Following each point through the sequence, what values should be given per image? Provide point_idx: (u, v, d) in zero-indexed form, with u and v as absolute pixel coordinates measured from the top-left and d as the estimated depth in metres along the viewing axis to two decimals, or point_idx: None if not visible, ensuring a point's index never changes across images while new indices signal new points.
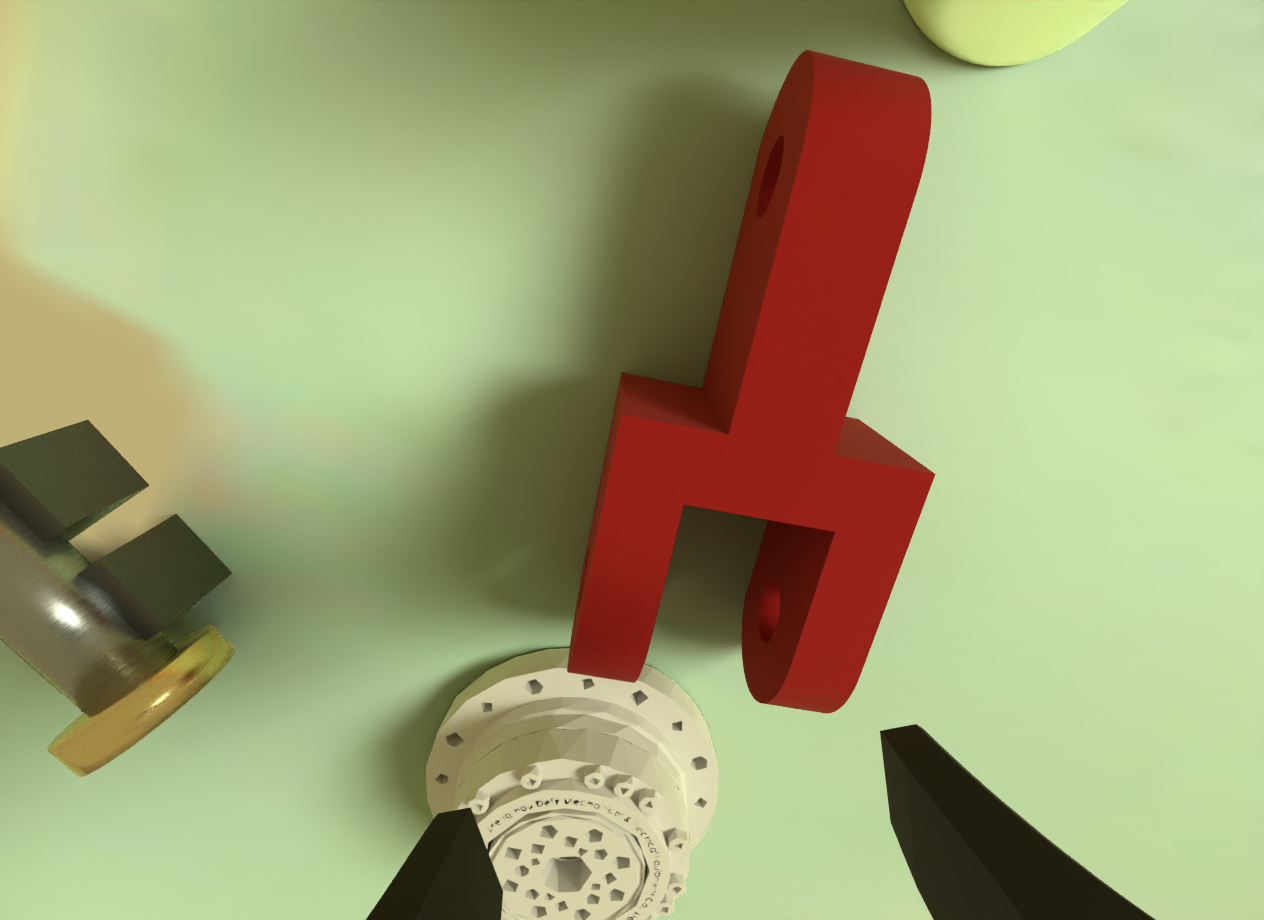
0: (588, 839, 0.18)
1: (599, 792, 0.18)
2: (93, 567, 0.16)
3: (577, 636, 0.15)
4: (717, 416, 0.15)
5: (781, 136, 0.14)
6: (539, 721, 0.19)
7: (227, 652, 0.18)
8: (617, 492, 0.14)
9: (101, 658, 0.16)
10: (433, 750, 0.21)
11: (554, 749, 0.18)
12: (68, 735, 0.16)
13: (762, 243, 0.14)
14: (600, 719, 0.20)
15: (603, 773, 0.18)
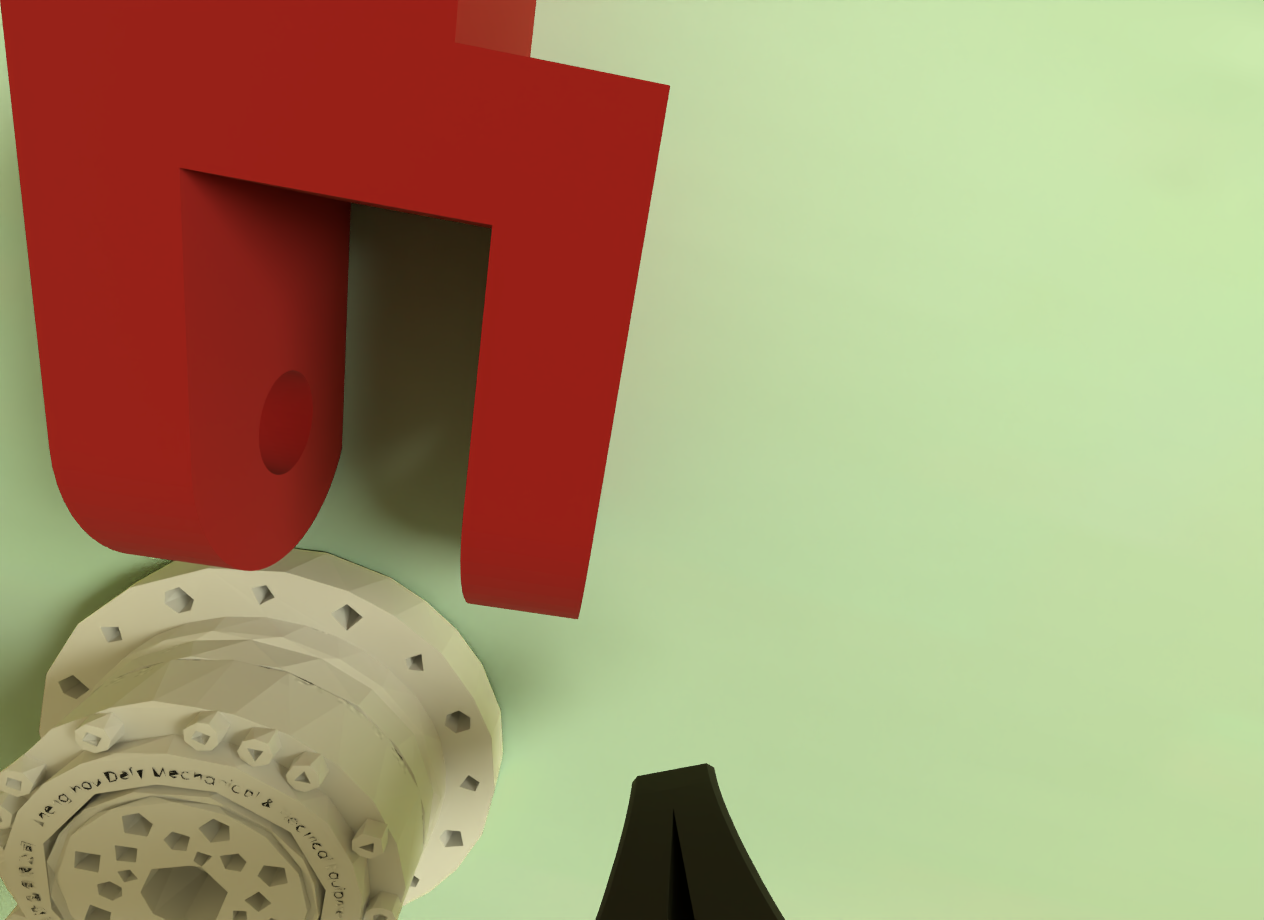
0: (210, 837, 0.11)
1: (215, 757, 0.11)
2: None
3: (55, 461, 0.08)
4: None
5: None
6: (170, 650, 0.12)
7: None
8: (39, 140, 0.07)
9: None
10: (45, 704, 0.14)
11: (153, 687, 0.11)
12: None
13: None
14: (270, 647, 0.12)
15: (220, 725, 0.11)
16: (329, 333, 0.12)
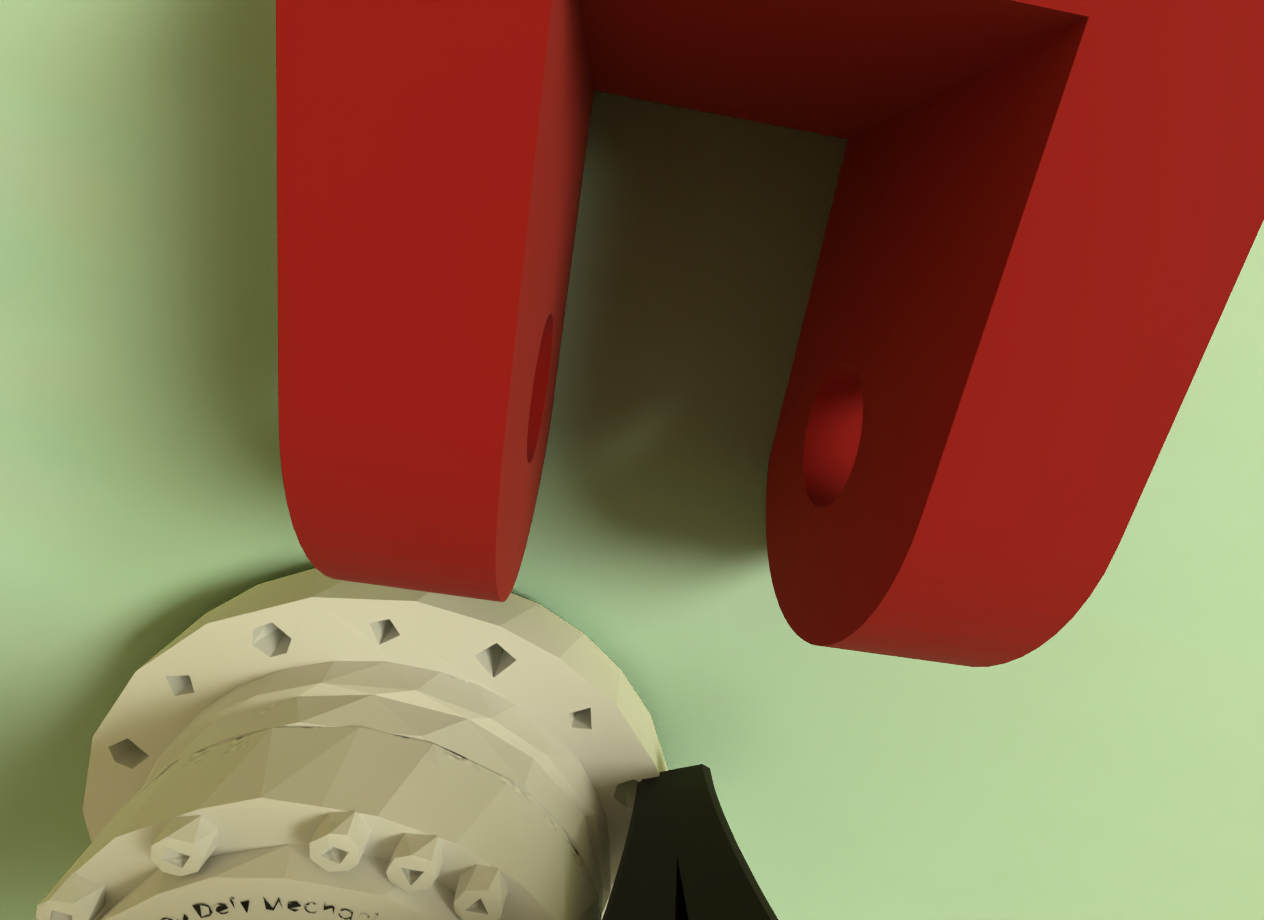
0: None
1: (352, 880, 0.07)
2: None
3: (284, 440, 0.05)
4: None
5: None
6: (266, 711, 0.09)
7: None
8: None
9: None
10: (90, 775, 0.10)
11: (257, 774, 0.08)
12: None
13: None
14: (401, 705, 0.09)
15: (360, 833, 0.07)
16: (566, 270, 0.09)
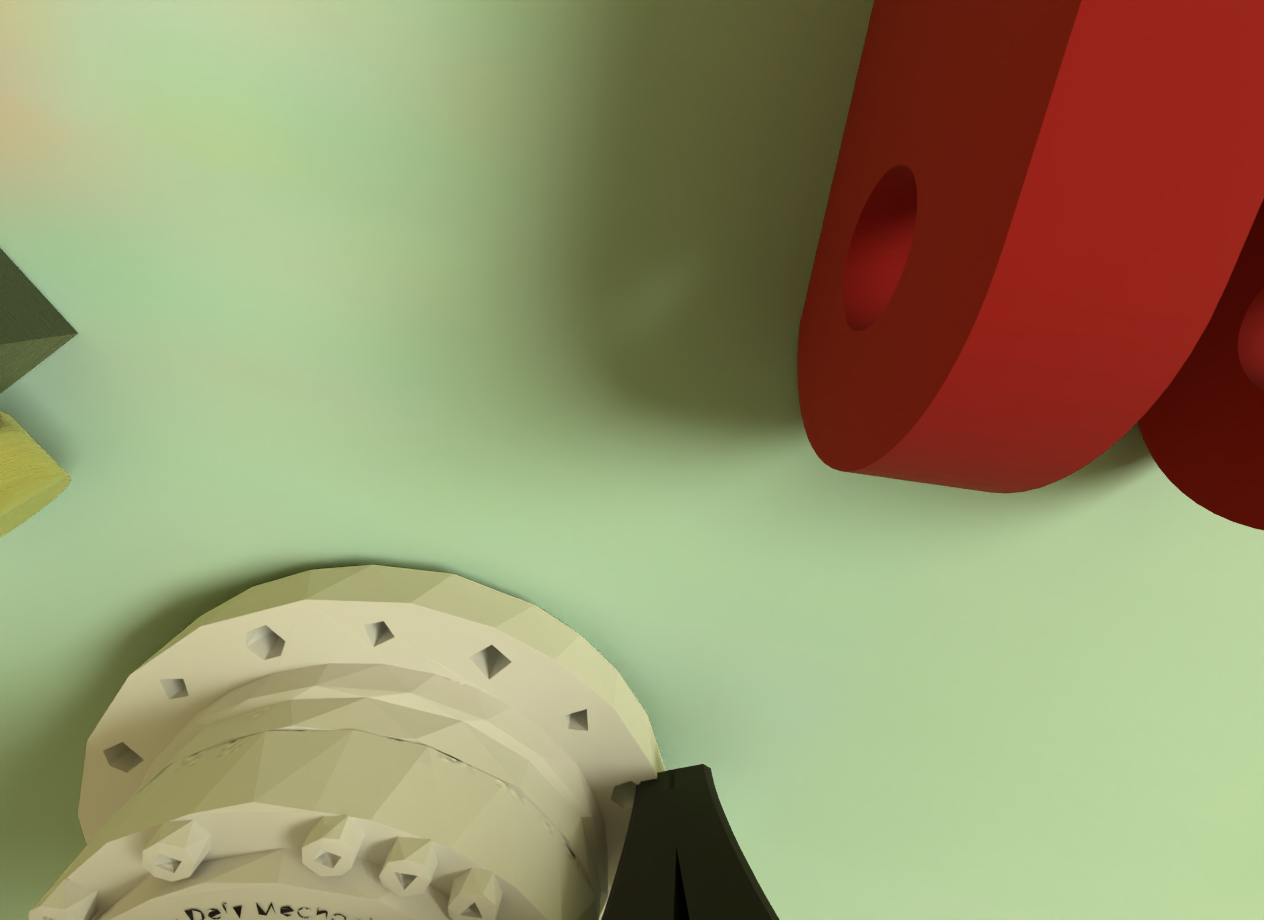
0: None
1: (346, 884, 0.07)
2: None
3: (993, 276, 0.05)
4: None
5: None
6: (260, 714, 0.09)
7: (33, 466, 0.08)
8: None
9: None
10: (86, 779, 0.10)
11: (249, 779, 0.08)
12: None
13: None
14: (396, 708, 0.09)
15: (353, 837, 0.07)
16: None
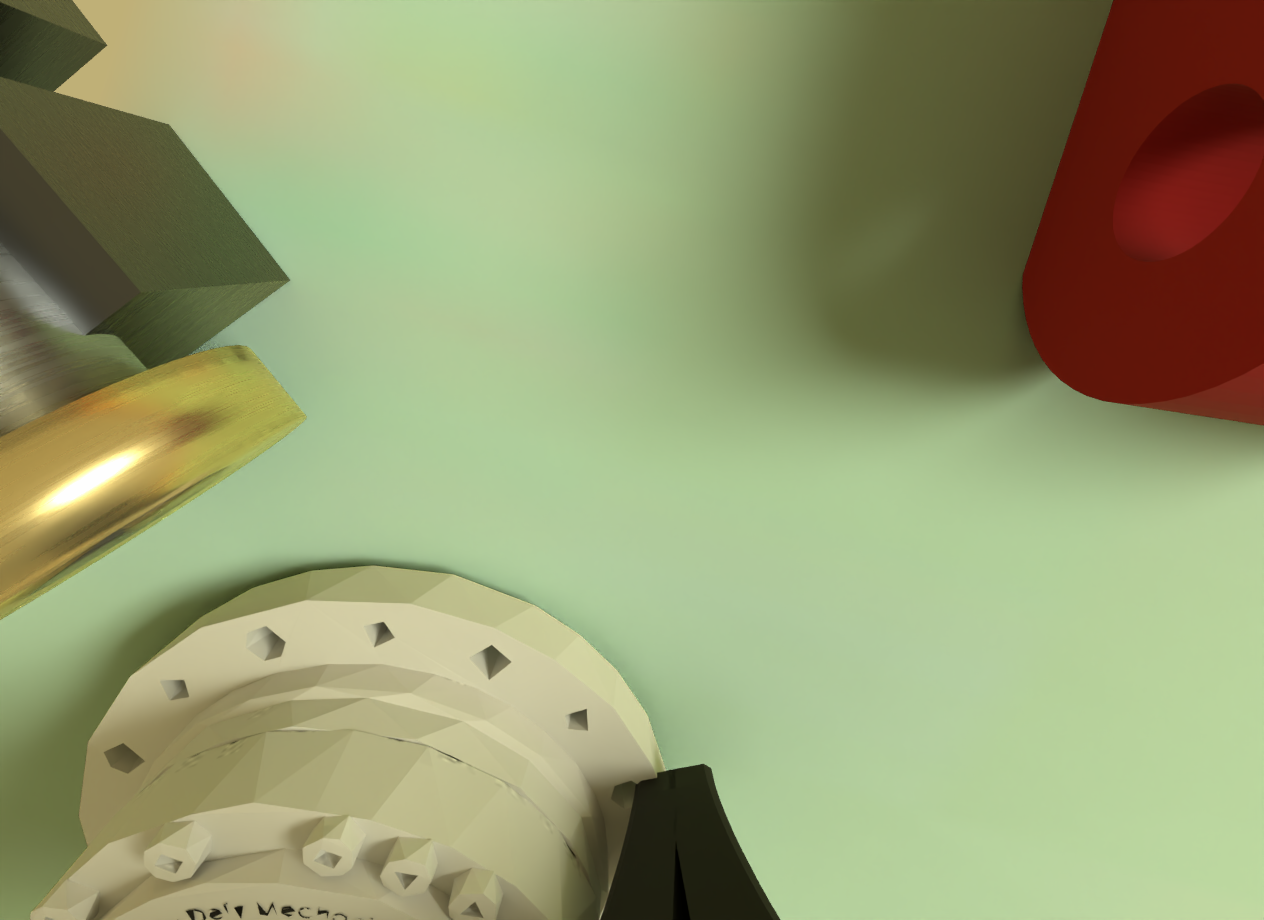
0: None
1: (347, 884, 0.07)
2: None
3: None
4: None
5: None
6: (261, 715, 0.09)
7: (292, 404, 0.07)
8: None
9: None
10: (87, 780, 0.10)
11: (250, 780, 0.08)
12: None
13: None
14: (396, 708, 0.09)
15: (354, 837, 0.07)
16: None
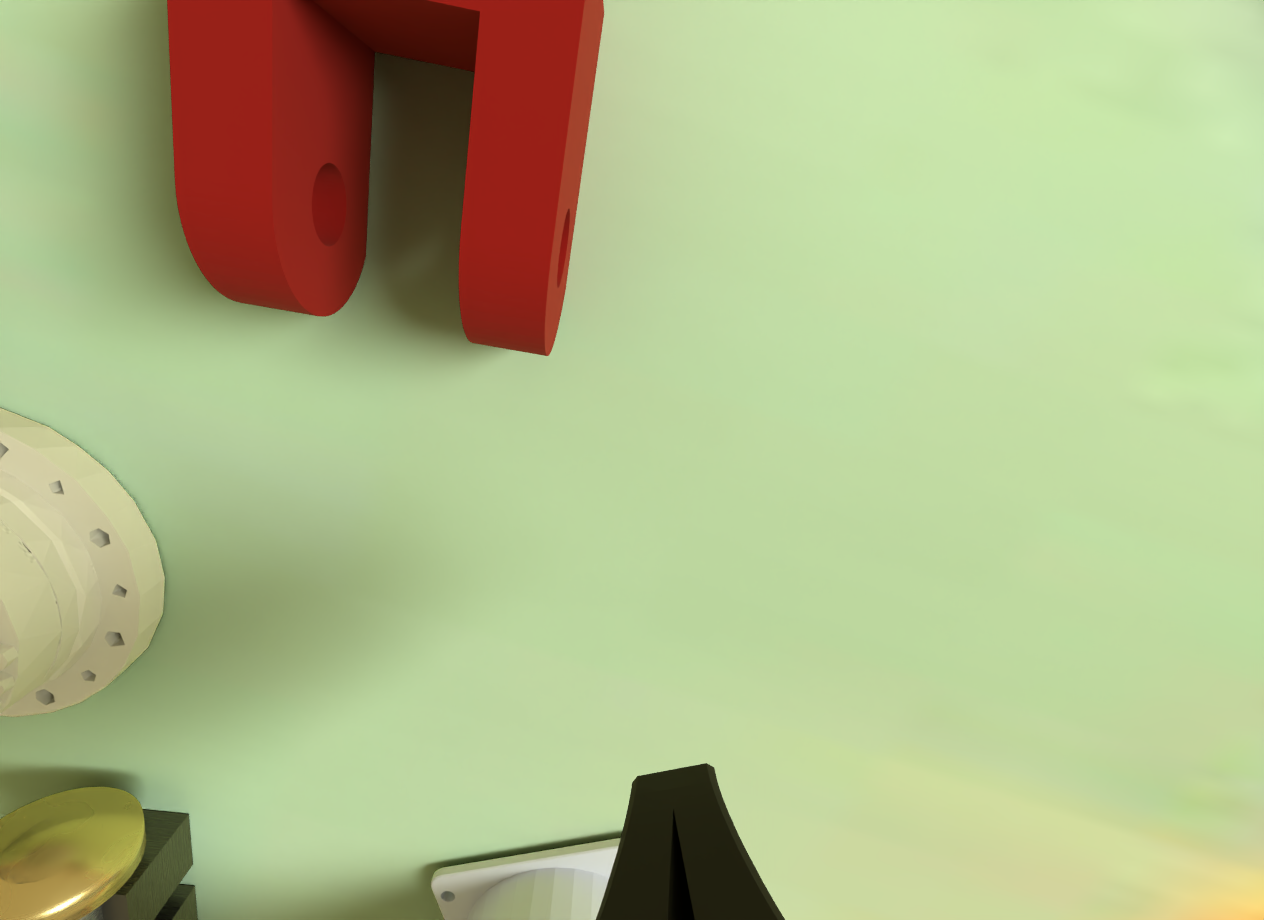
0: None
1: None
2: None
3: (177, 189, 0.12)
4: None
5: None
6: None
7: None
8: None
9: None
10: None
11: None
12: None
13: None
14: None
15: None
16: (358, 151, 0.15)
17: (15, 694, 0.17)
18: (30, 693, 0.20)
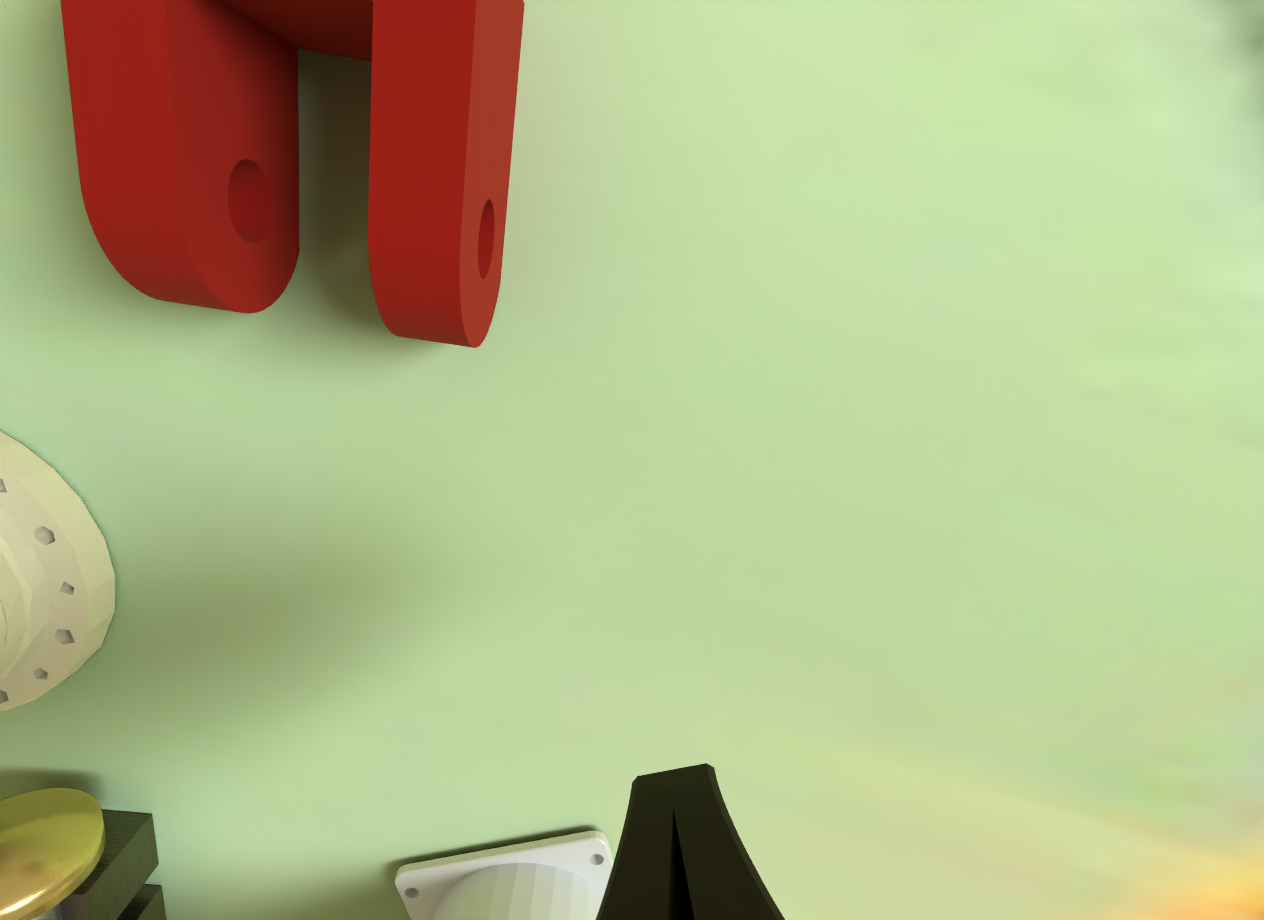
0: None
1: None
2: None
3: (83, 187, 0.12)
4: None
5: None
6: None
7: None
8: None
9: None
10: None
11: None
12: None
13: None
14: None
15: None
16: (283, 147, 0.15)
17: None
18: None
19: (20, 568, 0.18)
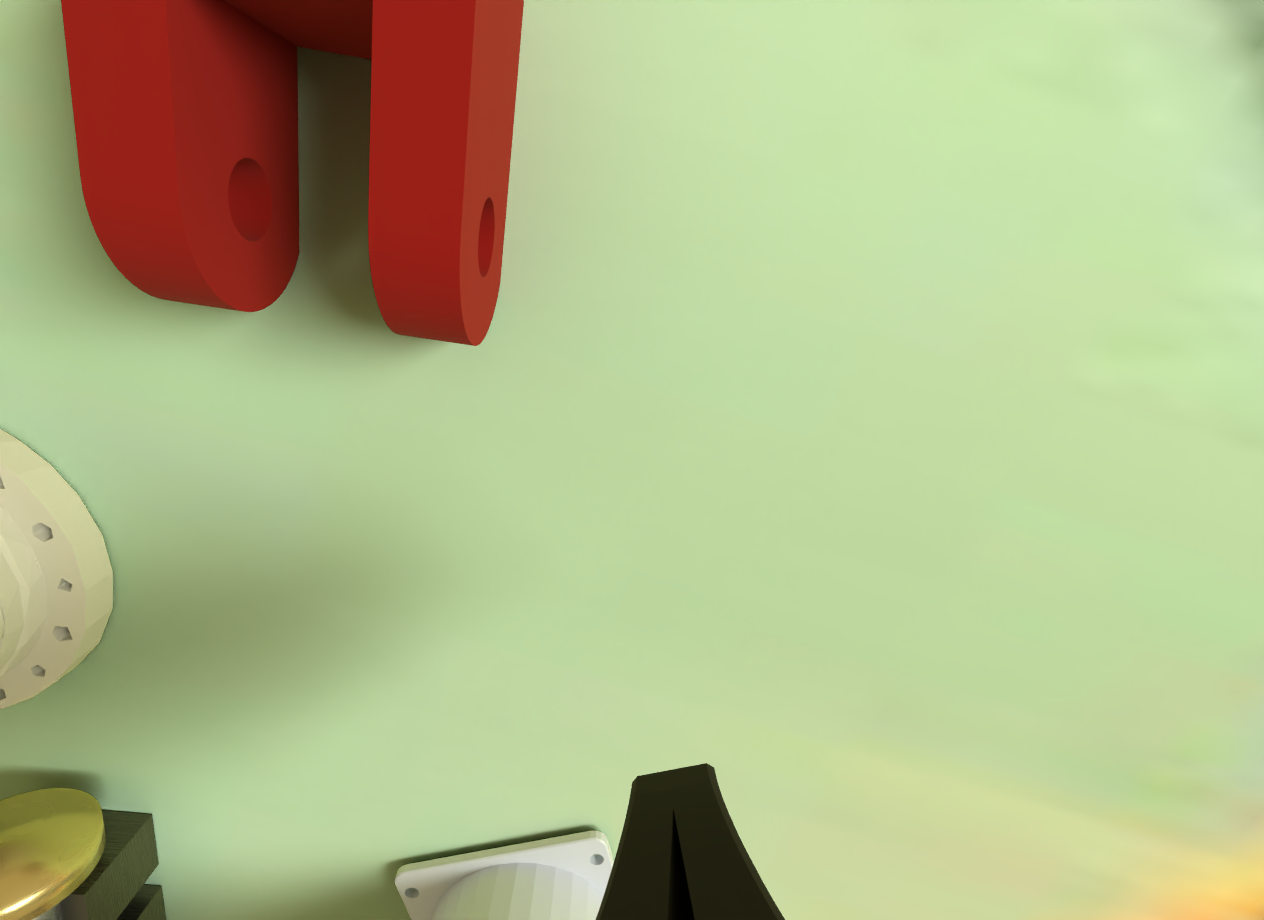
0: None
1: None
2: None
3: (84, 186, 0.12)
4: None
5: None
6: None
7: None
8: None
9: None
10: None
11: None
12: None
13: None
14: None
15: None
16: (283, 146, 0.15)
17: None
18: None
19: (18, 565, 0.18)
